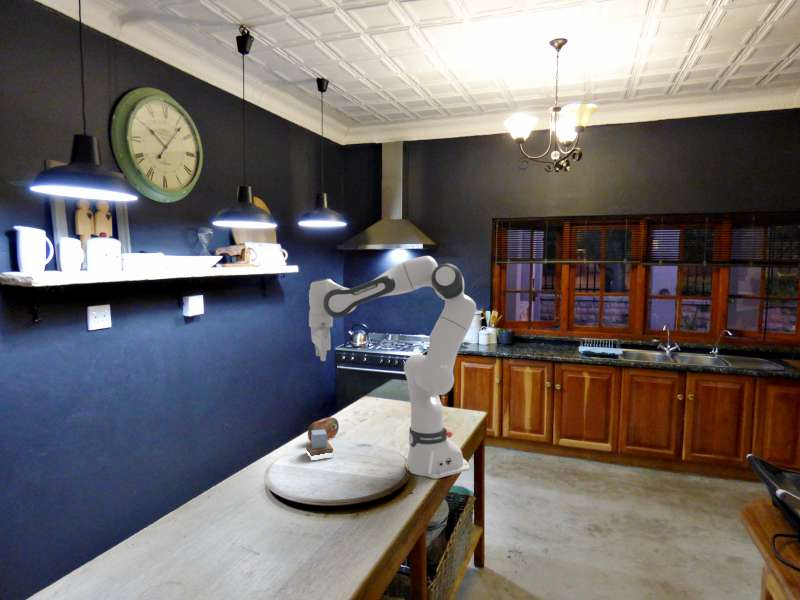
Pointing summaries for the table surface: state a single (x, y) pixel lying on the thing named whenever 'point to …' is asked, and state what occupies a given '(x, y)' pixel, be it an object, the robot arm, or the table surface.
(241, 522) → the table surface
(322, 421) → the tin
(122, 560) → the table surface
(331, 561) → the table surface
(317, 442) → the blue cube
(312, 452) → the walnut block
